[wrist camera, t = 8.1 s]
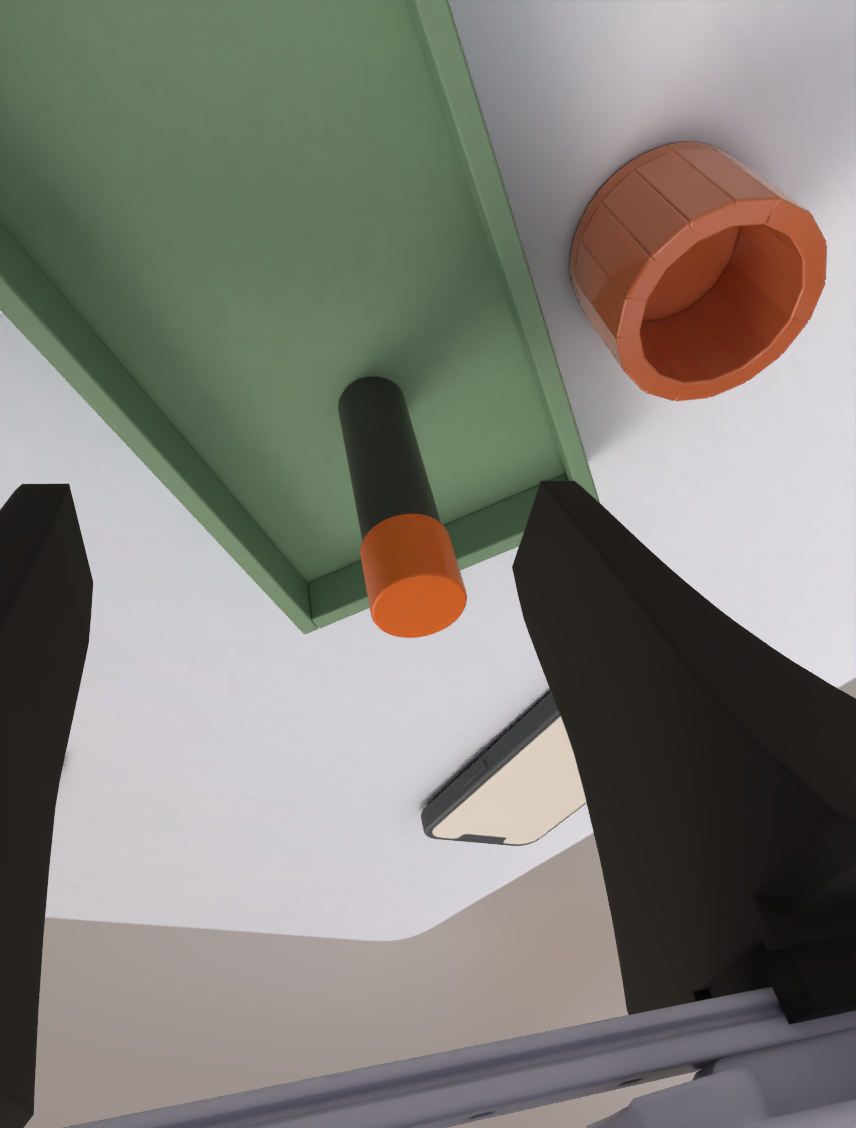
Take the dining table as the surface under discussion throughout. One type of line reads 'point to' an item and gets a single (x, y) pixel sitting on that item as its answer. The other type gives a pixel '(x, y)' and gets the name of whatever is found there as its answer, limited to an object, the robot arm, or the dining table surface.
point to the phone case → (512, 786)
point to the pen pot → (695, 270)
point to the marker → (397, 515)
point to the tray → (278, 266)
